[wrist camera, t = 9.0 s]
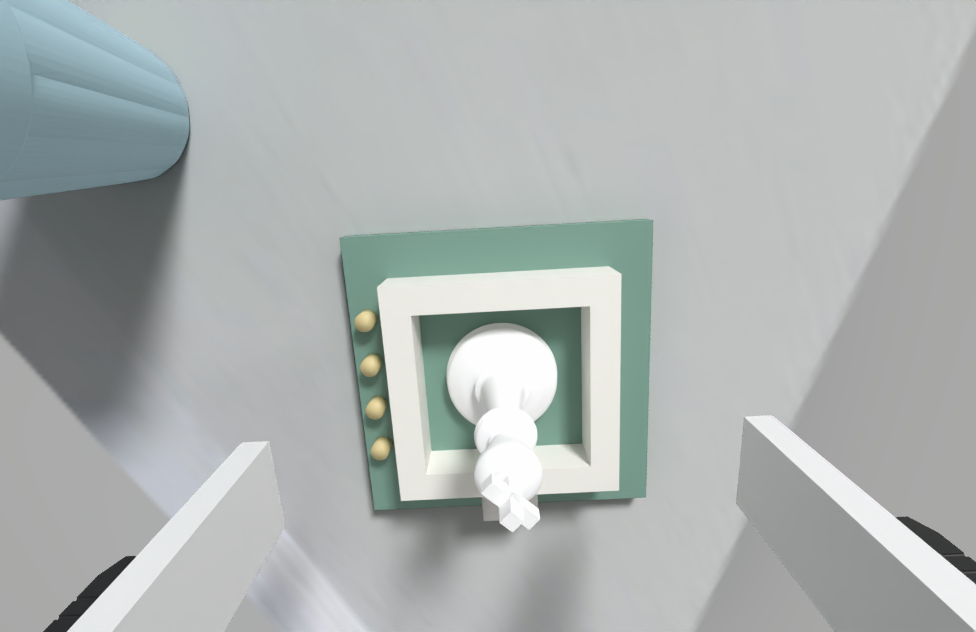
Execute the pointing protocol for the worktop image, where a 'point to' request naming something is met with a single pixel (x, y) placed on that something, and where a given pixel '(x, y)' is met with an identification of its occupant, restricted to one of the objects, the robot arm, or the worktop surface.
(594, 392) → the header board
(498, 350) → the chess piece
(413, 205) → the worktop surface
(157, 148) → the cup
